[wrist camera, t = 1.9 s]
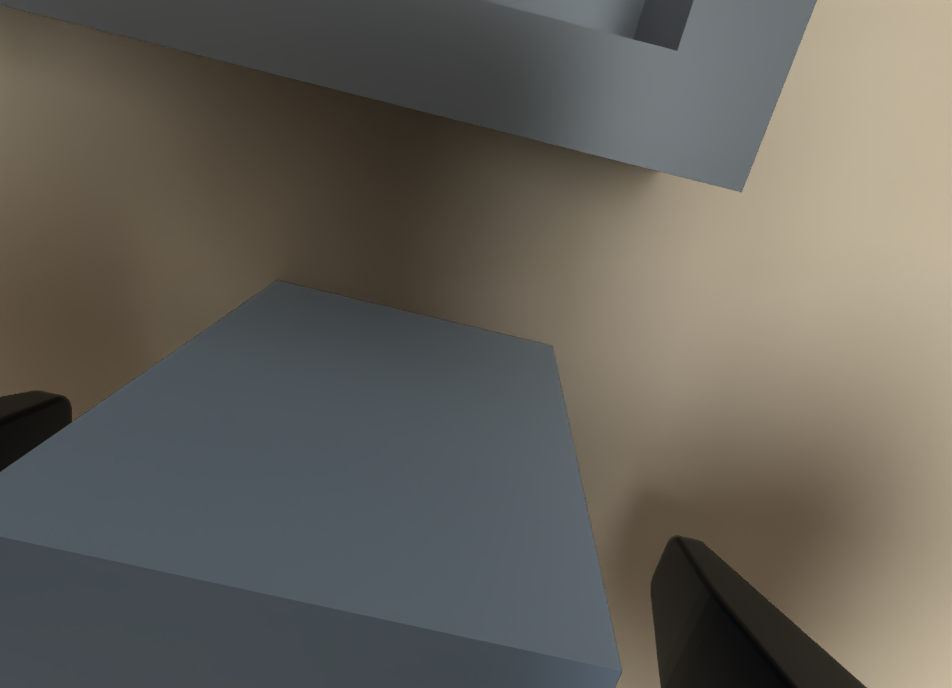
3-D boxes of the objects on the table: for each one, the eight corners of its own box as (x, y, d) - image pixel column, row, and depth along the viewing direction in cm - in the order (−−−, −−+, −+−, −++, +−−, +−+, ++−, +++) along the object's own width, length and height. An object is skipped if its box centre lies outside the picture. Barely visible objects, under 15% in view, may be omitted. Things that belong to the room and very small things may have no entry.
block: (486, 560, 11) (468, 1013, 5) (251, 508, 11) (-20, 921, 5) (552, 344, 9) (622, 670, 4) (277, 279, 9) (-71, 521, 4)
